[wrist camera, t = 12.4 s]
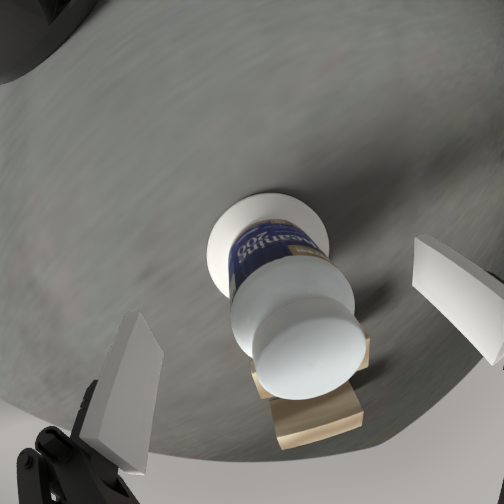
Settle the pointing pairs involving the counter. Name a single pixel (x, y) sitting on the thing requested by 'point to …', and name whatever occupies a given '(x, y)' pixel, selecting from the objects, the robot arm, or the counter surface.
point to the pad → (250, 212)
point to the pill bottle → (292, 311)
